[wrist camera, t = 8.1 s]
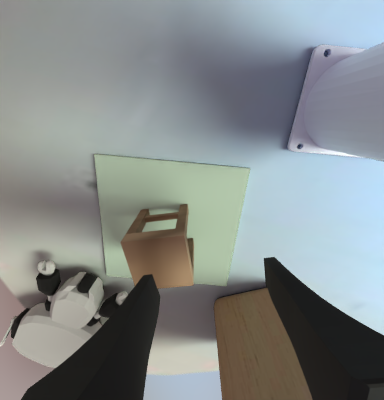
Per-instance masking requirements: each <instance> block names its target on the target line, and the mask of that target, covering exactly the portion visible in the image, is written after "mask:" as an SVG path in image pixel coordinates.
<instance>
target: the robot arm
mask: <svg viewBox="0 0 384 400" xmlns="http://www.w3.org/2000/svg"><path fill="white" fill-rule="evenodd" d="M325 50H326V51H327V52H328V55H327V57H325V56H324V52H325ZM298 144H301V147H300V148H299V149H298V148H297V146H298ZM287 147H288V149H289V150H290V151H295V152H305V153H316V154H327V155H337V156H348V157H359V158H369V159H374V160H378V161H383V162H384V42H383V43H381V44H378V45H376V46H374V47H371V48H369V49H362V48H352V47H342V46H332V45H319V46H318V47H316V48H315V49H314V50H313V52H312V55H311V59H310V63H309V66H308V70H307V74H306V78H305V81H304V85H303V89H302V93H301V96H300V100H299V104H298V108H297V111H296V115H295V119H294V123H293V126H292V130H291V134H290V138H289V141H288V146H287ZM264 267H265V280H266V286H267V288H268V291H269V294H270V297H271V300H272V302H273V304H274V306H275V309H276V311H277V313H278V315H279V317H280V319H281V321H282V323H283V326H284V328H285V330H286V332H287V334H288V336H289V338H290V341H291V343H292V345H293V347H294V350H295V353H296V355H297V358H298V361H299V363H300V366H301V369H302V371H303V374H304V377H305V380H306V382H307V385H308V388H309V391H310V393H311V396H312V399H313V400H384V335H382V334H380V333H378V332H376V331H374V330H372V329H371V328H369V327H367V326H365V325H364V324H362V323H360V322H358V321H357V320H355V319H353V318H352V317H350V316H348V315H347V314H345V313H343V312H342V311H340V310H339V309H337V308H336V307H334V306H333V305H331V304H330V303H328V302H327V301H326V300H324V299H323V298H321V297H320V296H319V295H317V294H316V293H315V292H313V291H312V290H311V289H310V288H308V287H307V286H306V285H305V284H303V283H302V282H301V281H300V280H299V279H298V278H296V277H295V276H294V275H293V274H292V273H291V272H290V271H289V270H287V269H286V268H285V267H284V266H283V265H282V264H281V263H280V262H279V261H278V260H277V259H276V258H275V257H271V258H264ZM159 305H160V295H159V292H158V289H157V286H156V283H155V281H154V278H153V275H152V274H149V275H143V276H142V278H141V279H140V280H139V282H138V283H137V284H136V286H135V287H134V288H133V290H132V291H131V292H130V294H129V295H128V296H127V297H126V299H125V300H124V301H123V303H122V304H121V305H120V306H119V307H118V309H117V310H116V311H115V312H114V313H113V315H112V316H111V317H110V318H109V319H108V320H107V321H106V323H105V324H104V325H103V326H102V327H101V328H100V329H99V330H98V331H97V332H96V333H95V334H94V335H93V336H92V337H91V338H90V339H89V340H88V341H87V342H85V343H84V344H83V345H82V346H81V347H80V348H79V349H78V350H77V351H76V352H75V353H73V354H72V355H71V356H70V357H69V358H68V359H66V360H65V361H64V362H63V363H61V364H60V365H59V366H58V367H57V368H55V369H54V370H53V371H52V372H50V373H49V374H47V375H46V376H45V377H44V378H42V379H41V380H39V381H38V382H37V383H35V384H34V385H33V386H31V387H30V388H29V389H28V390H27V391H26V393H25V394H24V396H23V397H22V399H21V400H143V396H144V387H145V379H146V372H147V365H148V359H149V354H150V349H151V345H152V340H153V336H154V331H155V327H156V323H157V318H158V313H159Z"/></svg>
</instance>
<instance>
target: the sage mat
mask: <svg viewBox="0 0 384 400" xmlns="http://www.w3.org/2000/svg"><path fill="white" fill-rule="evenodd" d="M94 158H95V168H96V178H97V187H98V197H99V207H100V216H101V226H102V236H103V246H104V255H105V265H106V275H107V276H111V277H122V278H132V276H131V273H130V270H129V267H128V264H127V261H126V258H125V255H124V252H123V249H122V246H121V243H120V242H121V241H122V239H123V238H124V236H125V234H126V233H127V231H128V230H129V228H130V226H131V225H132V223H133V222H134V220H135V218H136V217H137V215H138V214H139V212H140V211H141V210H142V209H149V213H150V215H156V214H164V213H173V212H179V208H180V205H183V204H188V209H189V214H188V225H187V239H188V238H193V239H194V281H193V283H194V284H206V285H217V286H226V285H227V280H228V275H229V270H230V265H231V261H232V256H233V251H234V246H235V241H236V236H237V231H238V226H239V222H240V217H241V212H242V207H243V202H244V197H245V192H246V187H247V183H248V178H249V173H250V168H244V167H233V166H222V165H212V164H201V163H190V162H179V161H168V160H157V159H146V158H136V157H125V156H114V155H103V154H94ZM176 223H177V219H172V220H163V221H155V222H147V223H146V225H145V227H144V229H143V231H142V232H148V231H157V230H166V229H175V228H176Z"/></svg>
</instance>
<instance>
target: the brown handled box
mask: <svg viewBox="0 0 384 400" xmlns="http://www.w3.org/2000/svg"><path fill="white" fill-rule="evenodd" d="M188 214H189V209H188V204H183V205H180V208H179V212H173V213H164V214H156V215H150V213H149V209H142V210H141V211H140V212H139V214H138V215H137V217H136V218H135V220H134V222H133V223H132V225H131V226H130V228H129V230H128V231H127V233H126V234H125V236H124V238H123V239H122V241H121V242H120V243H121V246H122V249H123V252H124V255H125V258H126V261H127V264H128V267H129V270H130V273H131V276H132V279H133V282H134V285H135V286H136V284H137V283H138V282H139V280H140V279H141V278H142V276H143V275H149V274H152V275H153V278H154V281H155V283H156V286H157V289H159V288H170V287H181V286H192V285H193V281H194V239H193V238H188V239H187V225H188ZM172 219H177V223H176V228H175V229H166V230H157V231H148V232H142V231H143V229H144V227H145V225H146V223H147V222H155V221H163V220H172Z"/></svg>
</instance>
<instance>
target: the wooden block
mask: <svg viewBox="0 0 384 400" xmlns="http://www.w3.org/2000/svg"><path fill="white" fill-rule="evenodd" d="M214 315H215V326H216V337H217V348H218V359H219V370H220V380H221V391H222V400H313V399H312V396H311V393H310V391H309V388H308V385H307V382H306V380H305V377H304V374H303V371H302V369H301V366H300V363H299V361H298V358H297V355H296V353H295V350H294V347H293V345H292V343H291V341H290V338H289V336H288V334H287V332H286V330H285V328H284V326H283V323H282V321H281V319H280V317H279V315H278V313H277V311H276V309H275V306H274V304H273V302H272V300H271V297H270V294H269V291H268V288H263V289H258V290H254V291H249V292H245V293H240V294H236V295H231V296H226V297H222V298H219V299H217V300H216V301H215V304H214Z"/></svg>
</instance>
